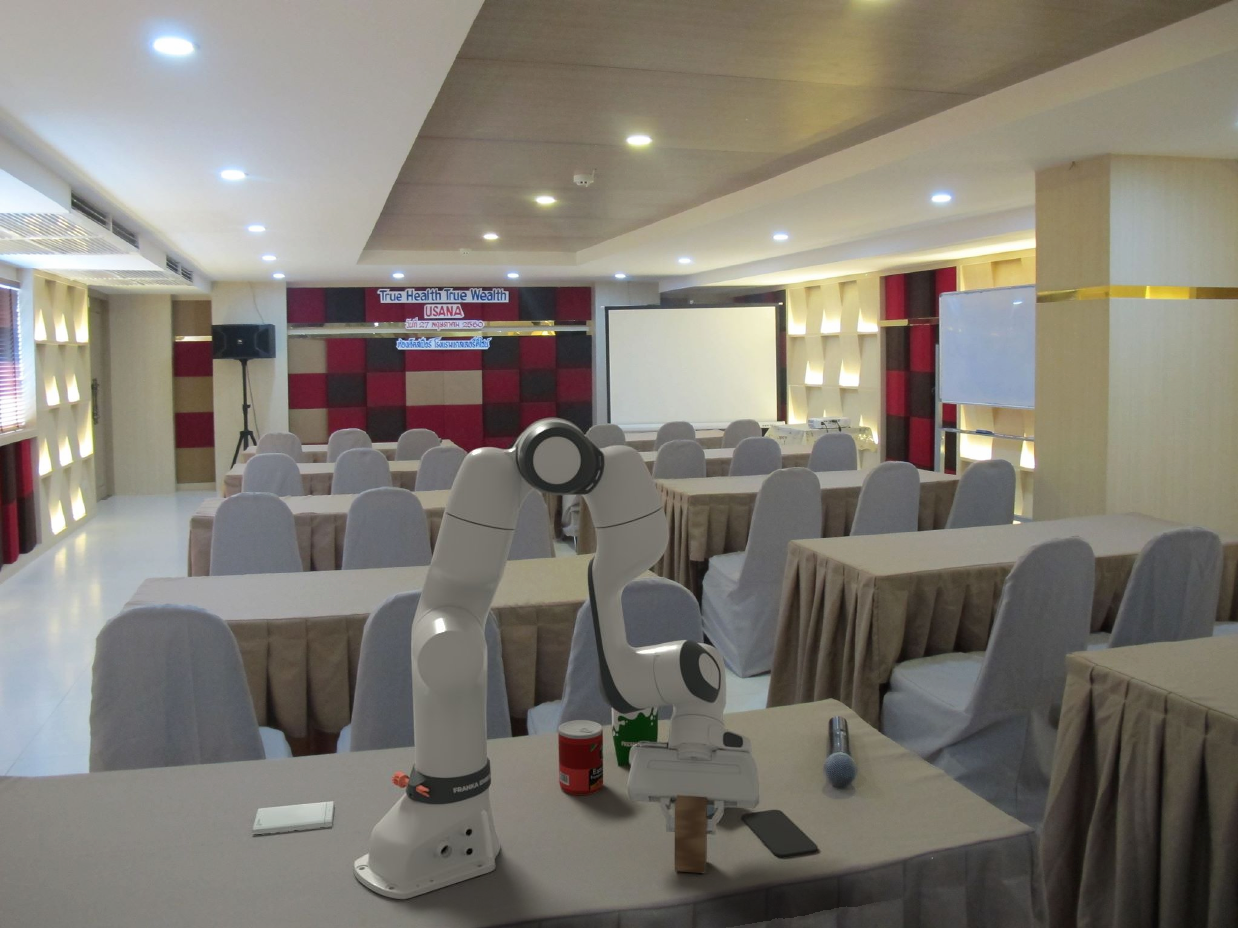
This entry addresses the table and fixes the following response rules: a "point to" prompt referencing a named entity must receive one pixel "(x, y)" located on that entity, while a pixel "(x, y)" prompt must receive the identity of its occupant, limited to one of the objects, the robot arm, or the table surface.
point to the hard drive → (294, 817)
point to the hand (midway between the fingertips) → (690, 831)
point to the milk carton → (633, 731)
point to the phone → (779, 834)
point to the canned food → (580, 757)
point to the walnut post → (690, 834)
